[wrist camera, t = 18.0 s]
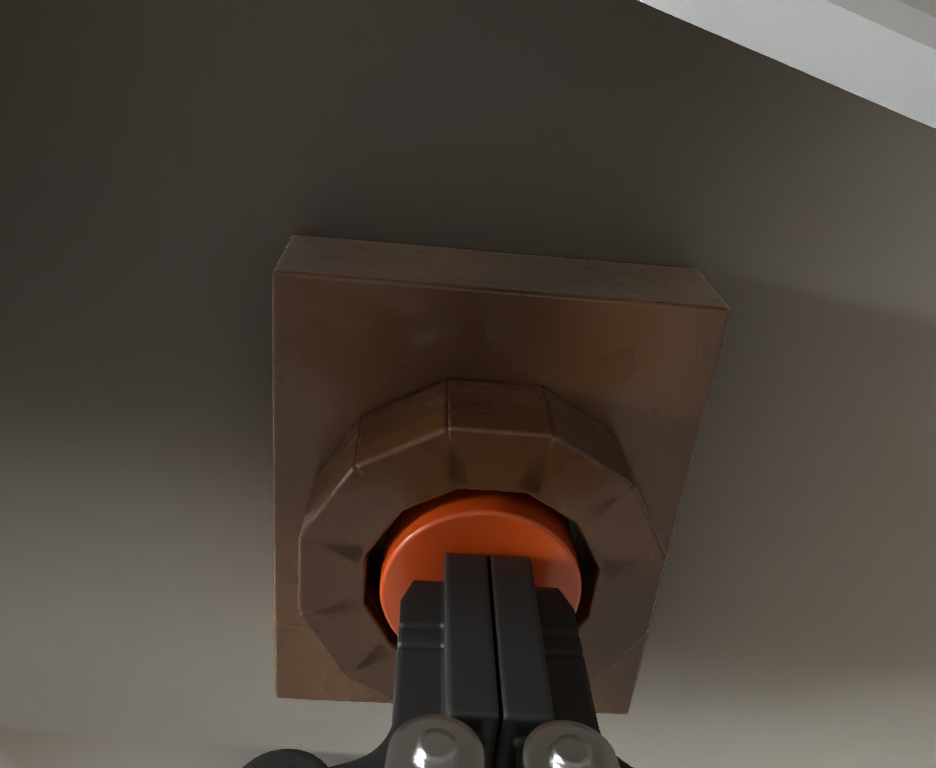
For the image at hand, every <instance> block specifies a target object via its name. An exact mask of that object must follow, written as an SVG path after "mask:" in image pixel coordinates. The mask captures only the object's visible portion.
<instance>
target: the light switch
mask: <svg viewBox="0 0 936 768" xmlns="http://www.w3.org/2000/svg"><path fill="white" fill-rule="evenodd" d="M638 1H640V2H642V3H645V4H647V5H649V6H652V7H654V8H656V9H659V10H661V11H663V12H666V13H668V14H670V15H673V16H675V17H677V18H680V19H682V20H684V21H686V22H689V23H691V24H693V25H696V26H698V27H700V28H703V29H705V30H707V31H710V32H712V33H714V34H717V35H719V36H721V37H724V38H726V39H728V40H731V41H733V42H735V43H738V44H740V45H742V46H745V47H747V48H749V49H751V50H754V51H756V52H758V53H761V54H763V55H765V56H768V57H770V58H772V59H775V60H777V61H779V62H782V63H784V64H786V65H789V66H791V67H793V68H796V69H798V70H800V71H803V72H805V73H807V74H809V75H812V76H814V77H816V78H819V79H821V80H823V81H826V82H828V83H830V84H833V85H835V86H837V87H840V88H842V89H844V90H847V91H849V92H851V93H854V94H856V95H858V96H861V97H863V98H865V99H868V100H870V101H872V102H874V103H877V104H879V105H881V106H884V107H886V108H888V109H891V110H893V111H895V112H898V113H900V114H902V115H905V116H907V117H909V118H912V119H914V120H916V121H919V122H921V123H923V124H926V125H928V126H930V127H932V128H935V129H936V0H638Z"/></svg>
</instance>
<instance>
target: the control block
mask: <svg viewBox="0 0 936 768" xmlns="http://www.w3.org/2000/svg"><path fill="white" fill-rule="evenodd" d="M729 315H730V308H729V307H728V306H727V305H726V303H725V302H724V301H723V300H722V298H721V297H720V296H719V295H718V294H717V292H716V291H715V290H714V289H713V287H712V286H711V285H710V284H709V283H708V281H707V280H706V279H705V278H704V276H703V275H702V274H701V273H700V272H699V270H697V269H693V268H681V267H669V266H657V265H645V264H634V263H622V262H610V261H598V260H587V259H575V258H563V257H551V256H539V255H528V254H516V253H504V252H492V251H481V250H469V249H457V248H445V247H433V246H422V245H410V244H398V243H386V242H374V241H363V240H351V239H339V238H327V237H316V236H304V235H293V236H292V237H291V239H290V241H289V243H288V245H287V246H286V248H285V250H284V252H283V254H282V256H281V258H280V260H279V261H278V263H277V265H276V267H275V269H274V271H273V273H272V351H273V477H274V603H275V695H276V697H278V698H293V699H314V700H336V701H357V702H378V703H393V698H394V682H395V666H396V653H397V640H398V636H397V635H396V633H395V632H394V631H393V629H392V628H391V626H390V624H389V623H388V621H387V619H386V617H385V615H384V612H383V609H382V606H381V601H380V577H381V567H382V557H383V547H384V536H385V532H386V530H387V529H388V528H389V527H390V526H391V524H392V523H393V522H394V521H395V519H396V518H397V517H398V516H399V514H400V513H401V512H402V511H404V510H407V509H409V508H412V507H414V506H417V505H419V504H422V503H424V502H427V501H429V500H432V499H434V498H437V497H439V496H442V495H445V494H447V493H450V492H452V491H455V490H457V489H471V490H486V491H501V492H517V493H527V494H528V495H530V496H532V497H533V498H535V499H537V500H538V501H540V502H542V503H544V504H545V505H547V506H549V507H550V508H552V509H554V510H555V511H557V512H559V513H560V514H562V515H564V516H565V517H567V518H568V521H569V525H570V529H571V534H572V538H573V543H574V547H575V552H576V556H577V560H578V565H579V569H580V574H581V582H582V590H581V598H580V602H579V605H578V609H577V611H576V613H575V615H576V620H577V625H578V630H579V637H580V639H581V644H582V649H583V657H584V659H585V664H586V669H587V673H588V678H589V683H590V688H591V693H592V698H593V703H594V707H595V712H596V713H611V714H627V713H628V712H629V708H630V704H631V700H632V696H633V692H634V688H635V684H636V680H637V676H638V672H639V668H640V665H641V661H642V657H643V653H644V649H645V645H646V641H647V637H648V633H649V629H650V625H651V621H652V617H653V613H654V610H655V606H656V602H657V598H658V594H659V590H660V586H661V582H662V578H663V574H664V570H665V566H666V562H667V558H668V555H669V551H670V547H671V543H672V539H673V535H674V531H675V527H676V523H677V519H678V515H679V511H680V507H681V503H682V500H683V496H684V492H685V488H686V484H687V480H688V476H689V472H690V468H691V464H692V460H693V456H694V452H695V448H696V445H697V441H698V437H699V433H700V429H701V425H702V421H703V417H704V413H705V409H706V405H707V401H708V397H709V393H710V390H711V386H712V382H713V378H714V374H715V370H716V366H717V362H718V358H719V354H720V350H721V346H722V342H723V338H724V335H725V331H726V327H727V323H728V319H729Z"/></svg>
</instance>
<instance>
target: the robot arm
mask: <svg viewBox="0 0 936 768" xmlns="http://www.w3.org/2000/svg"><path fill="white" fill-rule="evenodd" d="M243 768H633V767H631V766H629V765H628V764H627V763H625V762H624V761H622V760H621V759H620V758H619V757H618V756H616V754H615V751H614V750H613V748H612V746H611V745H610V743H609V742H608V741H607V740H606V739H605V738H604V737H603V736H602V735H601V733H600V730H599V726H598V722H597V717H596V712H595V707H594V703H593V698H592V693H591V688H590V683H589V678H588V673H587V669H586V664H585V659H584V657H583V649H582V644H581V639H580V637H579V630H578V625H577V620H576V615H575V610H574V608H573V607H572V606H571V604H570V603H569V602H568V600H567V599H566V598H565V596H564V595H563V594H562V592H561V591H560V590H559V588H550V587H535V584H534V578H533V571H532V564H531V559H530V557H523V556H506V555H488V558H487V557H486V555H485V554H469V553H452V552H445V555H444V563H443V572H442V582H441V581H423V580H414V581H413V582H412V584H411V585H410V587H409V588H408V590H407V591H406V593H405V594H404V596H403V597H402V599H401V603H400V615H399V628H398V640H397V653H396V666H395V682H394V698H393V714H392V727H391V729H390V732H389V733H388V735H387V737H386V738H385V740H384V741H383V742H382V743H381V744H380V745H379V746H378V747H377V748H376V749H375V750H374V751H372V752H371V753H369V754H368V755H366V756H364V757H362V758H360V759H357V760H354V761H351V762H348V763H344V764H340V765H336V766H332V767H327V765H326V764H325V763H323V761H322V760H321V759H319V758H318V757H316V756H315V755H313V754H310V753H308V752H306V751H302V750H297V749H279V750H274V751H270V752H267V753H265V754H262V755H260V756H258V757H257V758H255V759H253V760H252V761H250V762H249V763H247V764H246V765H245V766H244V767H243Z"/></svg>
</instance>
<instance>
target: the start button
mask: <svg viewBox="0 0 936 768" xmlns="http://www.w3.org/2000/svg"><path fill="white" fill-rule="evenodd" d="M445 552H452V553H469V554H485V555H486V557H487V558H488V555H506V556H523V557H530V559H531V564H532V571H533V578H534V584H535V587H550V588H559V590H560V591H561V592H562V594H563V595H564V596H565V598H566V599H567V600H568V602H569V603H570V604H571V606H572V607H573V608H574V610H575V613H576V611H577V609H578V605H579V602H580V598H581V590H582V582H581V574H580V569H579V565H578V560H577V556H576V552H575V547H574V543H573V538H572V534H571V529H570V525H569V521H568V518H567V517H565V516H564V515H562V514H560V513H559V512H557V511H555V510H554V509H552V508H550V507H549V506H547V505H545V504H544V503H542V502H540V501H538V500H537V499H535V498H533V497H532V496H530V495H528V494H527V493H517V492H501V491H486V490H471V489H457V490H455V491H452V492H450V493H447V494H445V495H442V496H439V497H437V498H434V499H432V500H429V501H427V502H424V503H422V504H419V505H417V506H414V507H412V508H409V509H407V510H404V511H402V512H401V513H400V514H399V516H398V517H397V518H396V519H395V521H394V522H393V523H392V524H391V526H390V527H389V528H388V529H387V530H386V532H385V536H384V547H383V557H382V567H381V577H380V601H381V606H382V609H383V612H384V615H385V617H386V619H387V621H388V623H389V624H390V626H391V628H392V629H393V631H394V632H395V633H396V635H397V636H398V628H399V615H400V603H401V599H402V597H403V596H404V594H405V593H406V591H407V590H408V588H409V587H410V585H411V584H412V582H413V581H414V580H423V581H441V582H442V572H443V563H444V555H445Z"/></svg>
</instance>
